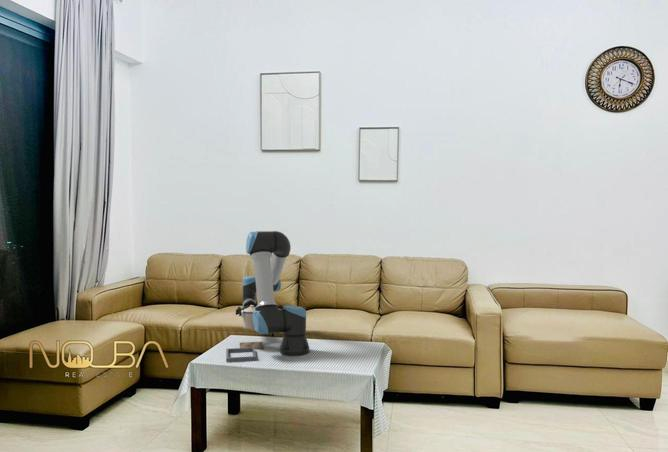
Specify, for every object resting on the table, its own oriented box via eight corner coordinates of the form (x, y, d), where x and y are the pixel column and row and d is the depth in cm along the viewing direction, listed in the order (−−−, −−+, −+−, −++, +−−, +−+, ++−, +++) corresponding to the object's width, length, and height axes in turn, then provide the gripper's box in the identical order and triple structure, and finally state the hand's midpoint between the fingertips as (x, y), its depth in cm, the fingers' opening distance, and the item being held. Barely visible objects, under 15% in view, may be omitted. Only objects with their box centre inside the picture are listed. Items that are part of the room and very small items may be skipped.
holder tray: (254, 350, 256) (254, 347, 256) (256, 360, 240) (256, 356, 240) (226, 352, 253) (226, 348, 253) (226, 362, 237) (226, 358, 237)
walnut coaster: (262, 342, 273) (262, 341, 272) (263, 348, 261) (263, 347, 261) (239, 343, 270) (239, 342, 270) (240, 349, 258) (240, 348, 258)
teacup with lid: (255, 329, 258) (256, 307, 258) (239, 328, 261) (239, 306, 260) (265, 324, 270) (265, 303, 269) (249, 323, 272) (250, 302, 272)
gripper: (269, 312, 285) (272, 321, 263) (230, 313, 280) (230, 322, 258) (269, 299, 285) (272, 306, 263) (230, 300, 280) (230, 308, 258)
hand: (251, 314), depth 261 cm, fingers closed on teacup with lid, 9 cm apart
